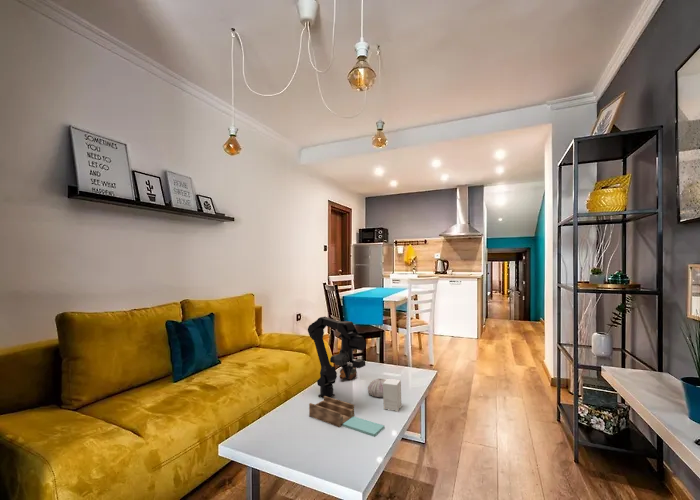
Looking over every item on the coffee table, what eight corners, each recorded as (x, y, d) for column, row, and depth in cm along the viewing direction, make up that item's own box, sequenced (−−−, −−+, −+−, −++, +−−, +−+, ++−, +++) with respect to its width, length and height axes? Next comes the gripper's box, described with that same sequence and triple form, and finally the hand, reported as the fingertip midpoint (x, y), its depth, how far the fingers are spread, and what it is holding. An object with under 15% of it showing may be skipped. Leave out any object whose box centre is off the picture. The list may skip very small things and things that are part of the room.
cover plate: (342, 427, 141) (342, 423, 141) (353, 419, 148) (353, 416, 148) (374, 438, 132) (374, 434, 132) (384, 429, 139) (384, 425, 139)
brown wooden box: (309, 416, 151) (309, 403, 151) (324, 407, 159) (324, 395, 160) (339, 427, 140) (339, 413, 140) (354, 417, 149) (354, 404, 149)
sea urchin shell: (389, 400, 168) (389, 384, 168) (364, 397, 172) (364, 382, 172) (394, 391, 180) (394, 376, 181) (371, 388, 184) (370, 374, 185)
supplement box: (401, 405, 161) (401, 380, 161) (397, 412, 154) (397, 385, 155) (387, 403, 164) (387, 378, 164) (382, 409, 157) (382, 382, 158)
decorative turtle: (361, 376, 205) (361, 363, 205) (348, 385, 192) (348, 372, 192) (348, 372, 210) (348, 360, 210) (335, 381, 198) (335, 368, 197)
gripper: (322, 347, 163) (323, 379, 163) (352, 353, 152) (353, 387, 151) (336, 343, 172) (337, 373, 172) (365, 348, 161) (366, 380, 160)
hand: (347, 378), depth 163 cm, fingers closed
